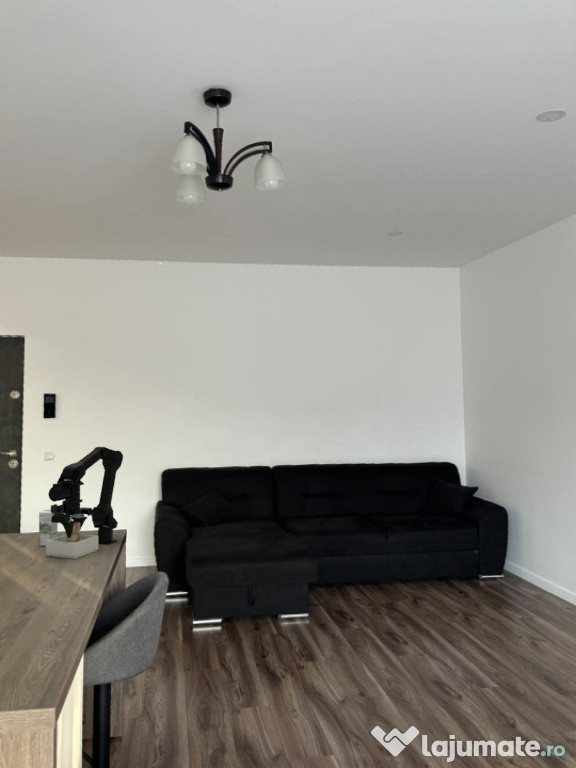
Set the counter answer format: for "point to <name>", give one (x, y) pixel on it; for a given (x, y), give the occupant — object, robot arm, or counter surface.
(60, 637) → the counter surface
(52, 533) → the syrup box
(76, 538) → the maple peg
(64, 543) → the open box
